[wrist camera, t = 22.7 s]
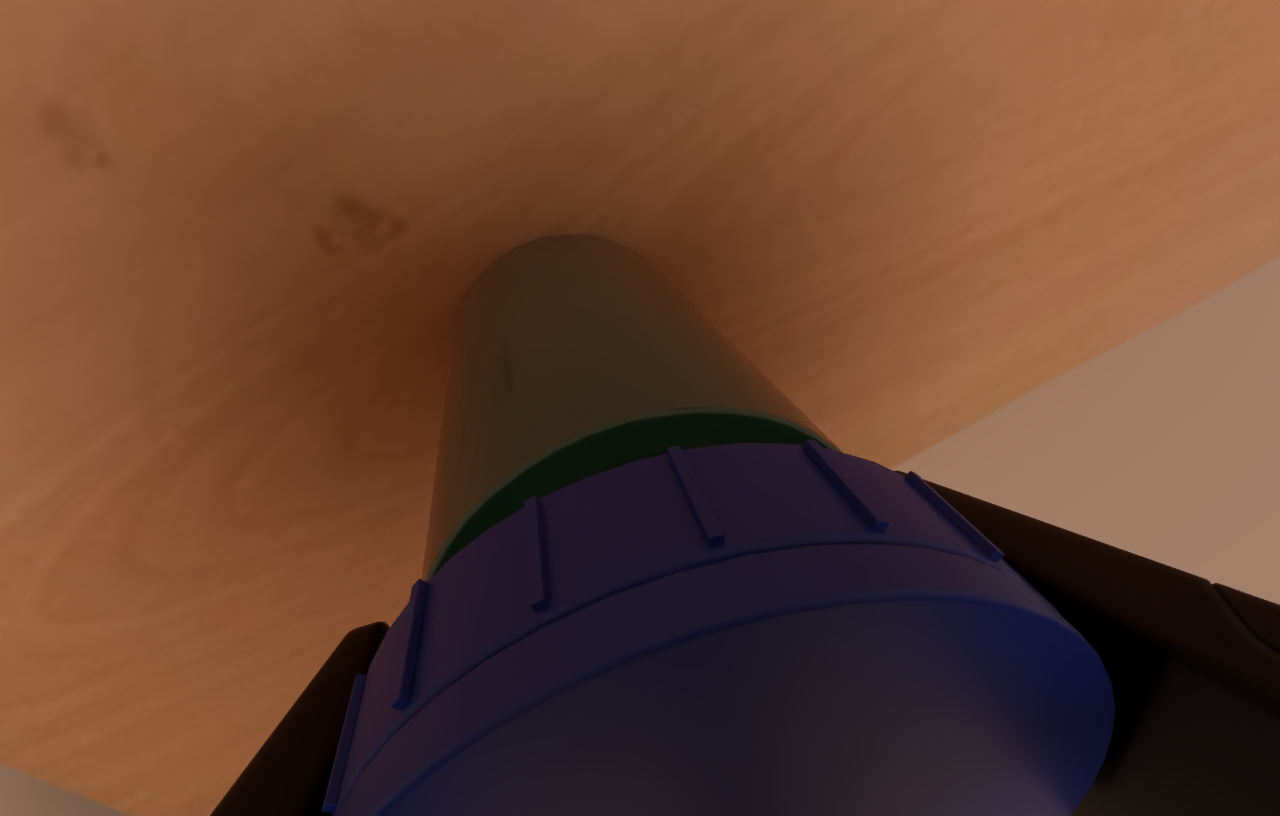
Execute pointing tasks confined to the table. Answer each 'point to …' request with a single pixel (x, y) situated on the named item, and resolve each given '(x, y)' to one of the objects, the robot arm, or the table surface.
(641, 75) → the table surface
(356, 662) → the robot arm
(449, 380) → the jar
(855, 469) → the lid
